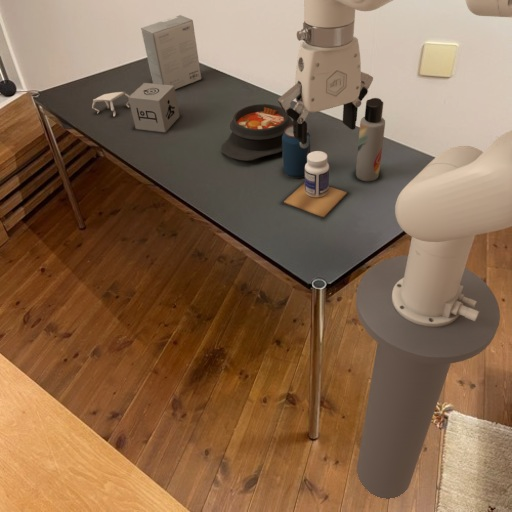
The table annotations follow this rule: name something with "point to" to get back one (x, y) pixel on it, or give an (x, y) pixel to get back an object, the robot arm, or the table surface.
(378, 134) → the lotion bottle
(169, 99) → the icon cube
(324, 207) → the cork mat
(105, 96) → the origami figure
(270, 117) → the casserole
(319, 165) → the pill bottle
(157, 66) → the hard drive box
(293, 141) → the soda can
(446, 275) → the robot arm
